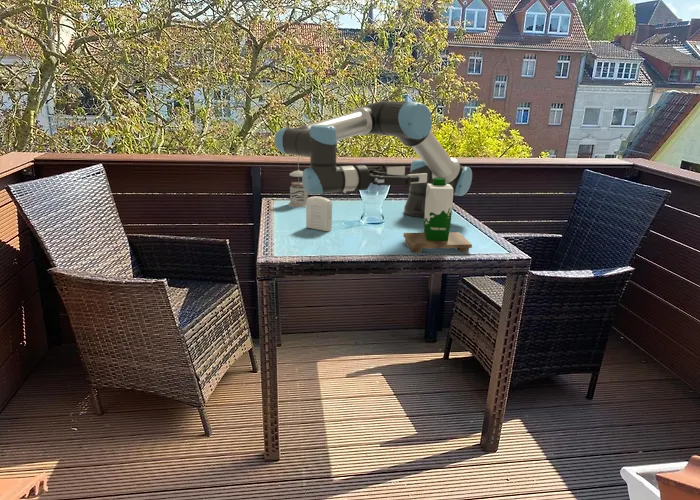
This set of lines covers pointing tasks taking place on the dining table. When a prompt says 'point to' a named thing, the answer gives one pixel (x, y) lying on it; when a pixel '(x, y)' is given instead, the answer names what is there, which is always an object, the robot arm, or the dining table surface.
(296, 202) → the french press
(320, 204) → the photo printer
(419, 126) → the robot arm
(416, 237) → the stand
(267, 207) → the dining table surface
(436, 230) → the soya milk
